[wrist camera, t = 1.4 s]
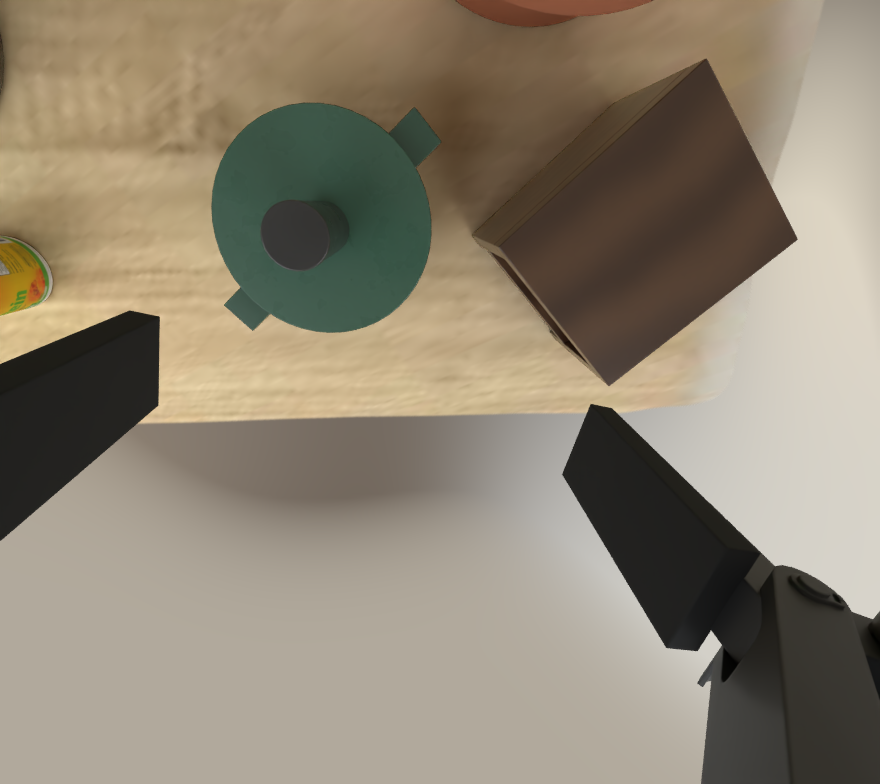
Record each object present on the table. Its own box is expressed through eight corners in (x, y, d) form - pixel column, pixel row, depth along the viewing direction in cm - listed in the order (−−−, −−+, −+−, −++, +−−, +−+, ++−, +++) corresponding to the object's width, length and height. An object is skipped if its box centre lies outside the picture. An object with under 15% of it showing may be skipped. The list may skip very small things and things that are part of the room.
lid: (173, 218, 27) (71, 224, 19) (321, 49, 25) (279, -31, 16) (332, 365, 32) (306, 423, 23) (471, 235, 29) (500, 248, 21)
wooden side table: (471, 235, 36) (498, 247, 26) (614, 102, 33) (707, 57, 23) (556, 341, 40) (609, 386, 30) (691, 230, 37) (798, 239, 27)
